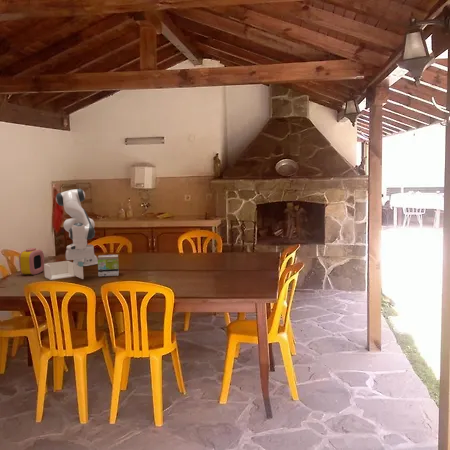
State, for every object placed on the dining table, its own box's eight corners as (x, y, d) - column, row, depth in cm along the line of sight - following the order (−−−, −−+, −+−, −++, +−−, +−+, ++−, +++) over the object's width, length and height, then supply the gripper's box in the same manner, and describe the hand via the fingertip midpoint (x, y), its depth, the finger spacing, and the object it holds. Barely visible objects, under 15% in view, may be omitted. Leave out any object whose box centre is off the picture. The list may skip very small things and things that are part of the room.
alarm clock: (32, 276, 373) (30, 250, 371) (19, 276, 375) (17, 250, 373) (45, 271, 391) (44, 247, 389) (33, 271, 393) (31, 246, 391)
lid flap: (73, 275, 367) (72, 259, 366) (76, 275, 368) (75, 259, 367) (81, 279, 353) (80, 262, 352) (84, 278, 355) (83, 262, 353)
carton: (68, 273, 380) (67, 260, 379) (75, 276, 369) (74, 263, 368) (44, 277, 369) (43, 263, 368) (50, 280, 358) (49, 266, 357)
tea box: (98, 277, 364) (97, 257, 363) (98, 274, 374) (97, 255, 373) (119, 275, 367) (118, 256, 366) (119, 273, 377) (118, 253, 375)
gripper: (91, 243, 363) (92, 262, 364) (64, 246, 351) (65, 266, 352) (95, 244, 358) (96, 263, 359) (67, 247, 346) (68, 267, 347)
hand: (80, 264), depth 356 cm, fingers open, 4 cm apart
